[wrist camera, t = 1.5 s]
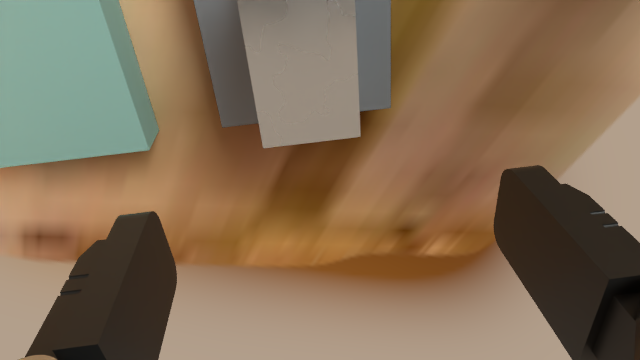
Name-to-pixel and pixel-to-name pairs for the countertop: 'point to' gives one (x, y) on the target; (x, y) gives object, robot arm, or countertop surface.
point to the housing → (302, 69)
